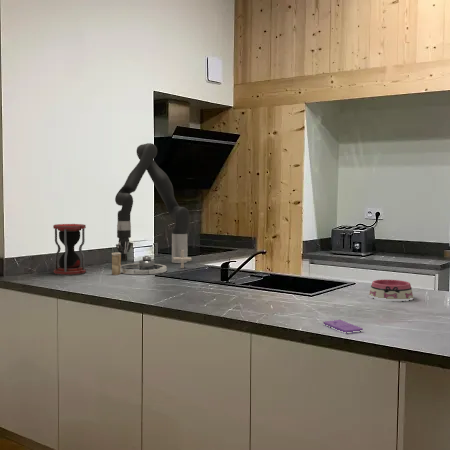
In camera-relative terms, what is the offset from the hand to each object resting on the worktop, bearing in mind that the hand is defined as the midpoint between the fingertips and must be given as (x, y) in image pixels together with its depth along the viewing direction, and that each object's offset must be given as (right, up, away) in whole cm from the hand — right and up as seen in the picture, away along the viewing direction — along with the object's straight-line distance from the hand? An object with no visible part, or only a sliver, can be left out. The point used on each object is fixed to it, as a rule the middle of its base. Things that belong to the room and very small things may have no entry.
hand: (123, 260), depth 318 cm
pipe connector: (+32, -5, +1) cm, 33 cm away
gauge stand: (0, -6, -24) cm, 25 cm away
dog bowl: (+126, -12, -76) cm, 148 cm away
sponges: (+95, -15, -129) cm, 161 cm away
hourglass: (-24, -5, -21) cm, 32 cm away
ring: (+10, -5, -11) cm, 16 cm away
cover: (+14, -5, -7) cm, 16 cm away
